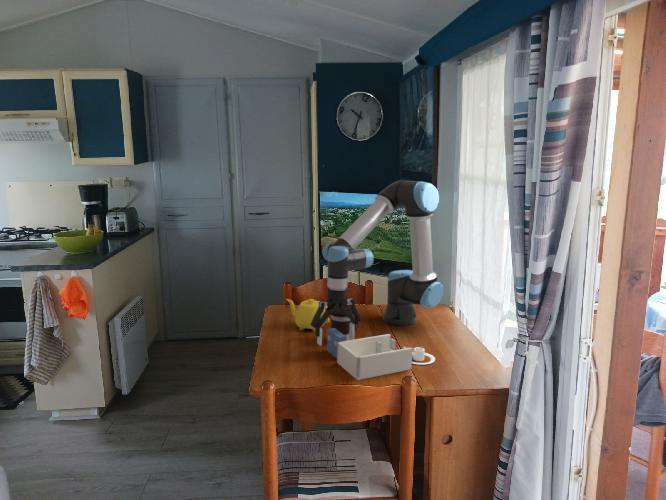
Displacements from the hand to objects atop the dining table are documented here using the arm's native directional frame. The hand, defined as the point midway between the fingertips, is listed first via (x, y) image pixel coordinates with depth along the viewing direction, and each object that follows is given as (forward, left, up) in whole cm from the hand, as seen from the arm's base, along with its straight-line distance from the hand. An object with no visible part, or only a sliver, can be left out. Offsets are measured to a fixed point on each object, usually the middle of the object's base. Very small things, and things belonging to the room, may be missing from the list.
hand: (335, 342), depth 208 cm
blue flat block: (0, 0, -5) cm, 5 cm away
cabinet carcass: (-8, +15, -5) cm, 18 cm away
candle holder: (-27, +16, -6) cm, 32 cm away
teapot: (-2, -33, -6) cm, 34 cm away
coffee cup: (-8, -12, -6) cm, 16 cm away
